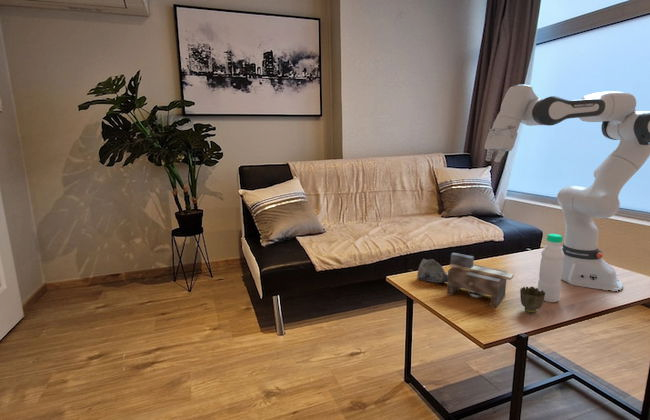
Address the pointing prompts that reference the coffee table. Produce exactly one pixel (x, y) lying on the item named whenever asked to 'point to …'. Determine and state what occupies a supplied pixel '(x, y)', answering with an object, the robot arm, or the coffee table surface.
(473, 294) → the steel disc
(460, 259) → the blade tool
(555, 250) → the water bottle
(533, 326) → the coffee table surface
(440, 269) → the mineral rock
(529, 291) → the cup
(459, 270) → the brown bridge block
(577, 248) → the robot arm
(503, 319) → the coffee table surface
